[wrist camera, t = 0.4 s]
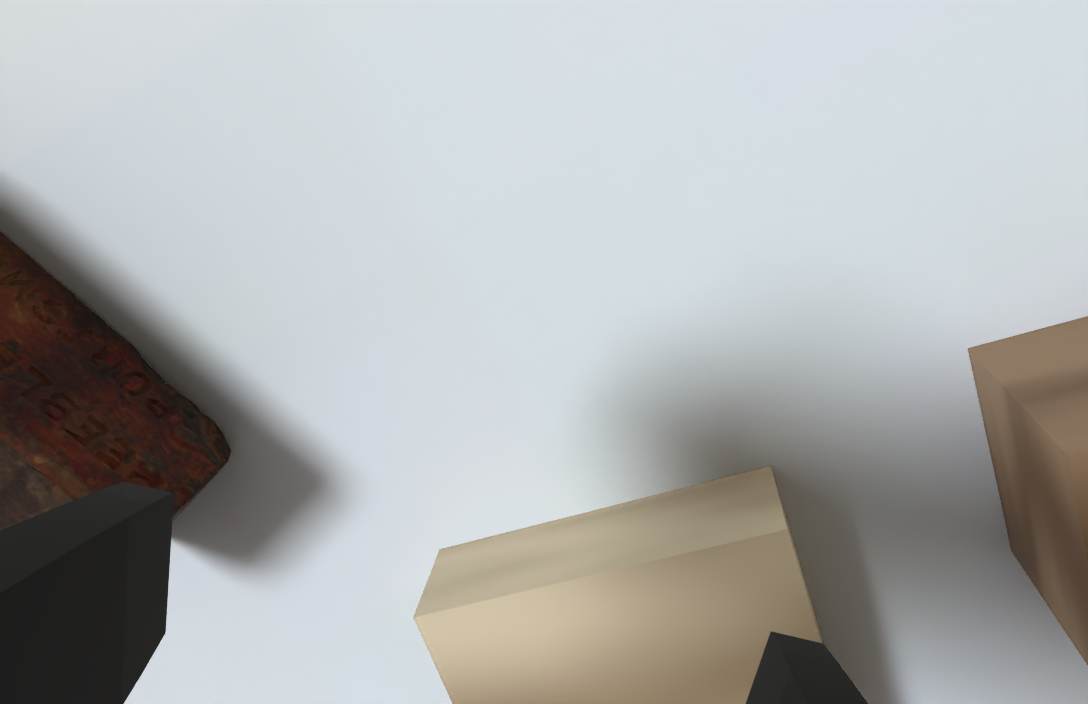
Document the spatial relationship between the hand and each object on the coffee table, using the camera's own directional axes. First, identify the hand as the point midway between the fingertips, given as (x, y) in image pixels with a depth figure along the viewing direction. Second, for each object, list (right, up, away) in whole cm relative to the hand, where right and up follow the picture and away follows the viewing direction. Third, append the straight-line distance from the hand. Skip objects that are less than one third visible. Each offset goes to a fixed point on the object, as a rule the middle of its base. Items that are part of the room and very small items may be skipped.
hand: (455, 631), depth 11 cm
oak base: (+4, -4, +12) cm, 13 cm away
